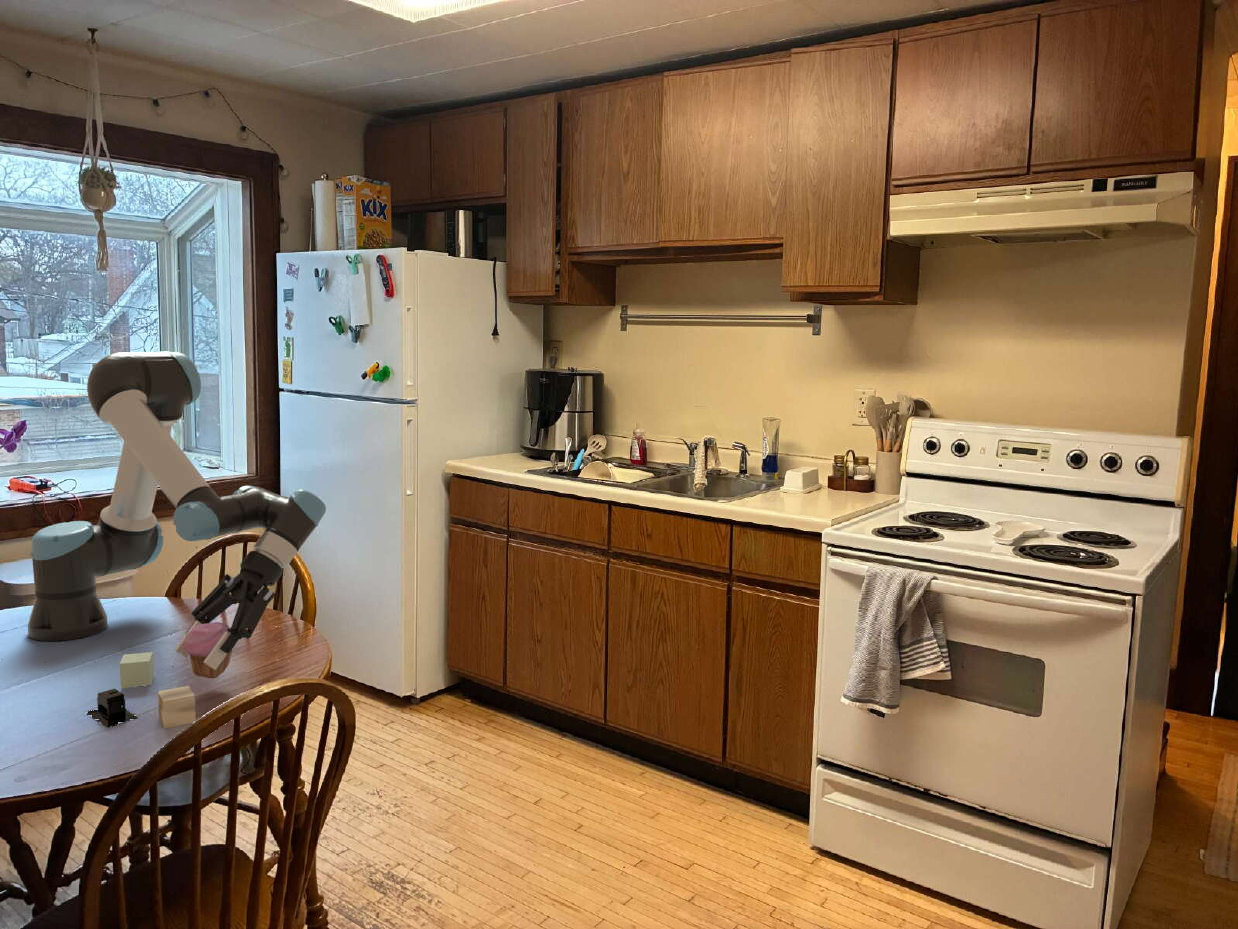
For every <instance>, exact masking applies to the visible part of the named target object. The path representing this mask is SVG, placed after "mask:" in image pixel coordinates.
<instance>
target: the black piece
mask: <svg viewBox="0 0 1238 929" xmlns="http://www.w3.org/2000/svg"><path fill="white" fill-rule="evenodd" d="M96 703H97V709H98V710H94V709H92V711H91V710H88V713H87V715H86V716H88V715H92V718H91V719H93V720H94V719H99V720H95V721H96V722H98V723H99V722H101V723H102V724H101V723H100V724H101V725H103V727H106V728H111V727H110V726H112V727H116V726H118V725H117V724H118V722H125V723H128V722H130V719H134V720H137V719H140V716H138V715H137V716H138V717H139V718H138V717H137V716H134V715H136V714H135V713H133V712H132V713H133V714H132V713H130V712H131V711H130V710H128V709H127V708H126V699H125V694H124V693H123V692H121V691H119V690H118V689H116V688H111V689H108V690H104V691H100V692H98V693H97V699H96ZM126 709H127V710H128V711H127V710H126ZM93 710H94V711H93ZM129 711H130V712H129Z"/></svg>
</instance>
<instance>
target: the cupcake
mask: <svg viewBox="0 0 1238 929" xmlns="http://www.w3.org/2000/svg"><path fill="white" fill-rule="evenodd" d="M229 628H231V627H230V626H229V625H227V624H225V623H223V622H218V621H217V622H210V623H207V624H201V625H198V626H195V627H194V628H193V629H192V630H191V631H190V632H189V633H188V634H187V636H186V637H185V639H184V648H185V650H186V652H188V653H189V659H190V662H191V668H192V672H193V674H194V675H195V676H196V677H202V678H207V679H216V678H218V677H220V675H222V674H223V673H225V671H226V669H227V668H228V667H229V664H230V663H231V662H230V661H231V658H232V653H233V649H234V648H235V646H236V644H237V643H236V644H235V646H234V647H233V648H232V650H231V651H230V652H229V653H228V654H227V655H226V656H225V658H224V659H223V660H222V662H221V663H220V665H219V666H218V667H217V669H216V670H214V669H212V668H211V667H209V666H208V665H207V664H205V663H204V660H205V659H206V658H207V656H208V655H209V653H210V652H211V651H212V649H213V648H214V647H215V645H216V644H217V642H218V641H219V640H220V638H221V637H222V636H223V634H224V633H225V632H228V631H227V629H229ZM228 633H229V634H231V633H230V632H228Z"/></svg>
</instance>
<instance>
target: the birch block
mask: <svg viewBox="0 0 1238 929" xmlns="http://www.w3.org/2000/svg"><path fill="white" fill-rule="evenodd" d="M195 698H196V697H195V693H194V692H193V690H192V689H191V687H190V685H186V686H181V687H176V688H175V687H174V688H170V689H169V688H168V689H165V690H164V689H163V690H159V691H157V700H158V701H157V702H158V703H157V707H158V719H159V721H160V723H161V725H162V727H163V729H165V730H166V729H169V728H175V727H180V726H183V724H185V725H189V724H193V723H192V722H194V721H195V720H196V701H195V700H196V699H195Z"/></svg>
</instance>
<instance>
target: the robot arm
mask: <svg viewBox="0 0 1238 929" xmlns="http://www.w3.org/2000/svg"><path fill="white" fill-rule="evenodd" d="M200 376H201V375H200V373H199V371H198V368H197V365H196V364H195V363H194V361H193V360H192V359H191V358H190V357H188V356H187V355H186V354H184V353H182V352H178V351H177V352H176V351H167V350H163V351H162V350H161V351H153V352H152V351H148V352H147V351H146V352H143V351H141V352H126V351H125V352H124V351H123V352H121V351H120V352H115V353H111V354H109V355H107V356H104V357H102V358H101V359H99V361H97V363H95V365H94V366H93V367H92V369H91V370H90V372H89V375H88V378H87V384H86V391H87V398H88V400H89V403H90V405H91V408H92V409H93V411H94V413H95V414H96V415H97V417H98V418H99V419H100V421H101V422H102V423H104V424H105V425H108V426H112V427H113V429H114V430H115V431H116V432H117V434H118V435H119V437H121V439H122V440H123V446H122V450H121V453H120V459H119V463H118V467H117V468H118V469H117V473H116V476H115V482H114V484H113V485H114V486H113V490H112V494H111V495H112V496H111V500H110V502H109V503H110V504H109V505H107V506H106V507H104V508H103V509H101V511H100V515H99V519H98V523H97V524H94V525H93V523H91V522H90V521H85V520H74V521H69V522H58V523H55V524H52V525H48V526H45V527H44V528H41V529H39V530H38V531H37V532H36V533H35V534H34V535H33V536H32V539H31V552H30V556H31V558H32V570H33V571H32V572H33V583H34V584H33V586H34V598H35V599H34V604H33V607H32V609H31V613H30V617H29V621H28V623H27V634H28V637H29V638H30V639H32V640H36V641H44V642H54V641H55V642H58V640H61V641H68V640H75V639H81V637H82V638H86V637H89V636H90V637H91V636H93V635H96V634H97V633H101V632H102V631H104V630H106V628H108V626H109V624H108V616H107V612H106V611H105V608H104V605H103V604H102V601H101V600H100V597H99V595H98V593H97V578H99V577H100V578H101V577H104V576H108V575H112V574H113V575H114V574H117V573H121V572H126V571H130V570H137V569H140V568H142V567H145V566H147V565H150V564H152V563H153V562H155V561H156V559H158V557H159V555H161V552H162V549H163V547H164V535H162V534H163V528H162V526H161V524H160V523H159V522H158V521H157V520H158V519H157V517H156V515H155V514H154V513H153V512H152V511H153V506H154V504H155V498H156V495H157V490H158V487H159V488H160V489H161V491H162V493H163V494H164V495H165V496H166V497H167V499H168V500H169V501H170V503H171V504H172V505H173V507H174V508H175V510H174V514H173V521H172V522H173V525H174V526H175V531H176V533H177V534H178V536H179V537H180V538H181V539H182V540H184V541H187V542H199V541H208V540H211V539H214V538H218V537H221V536H226V535H230V534H234V533H240V532H244V531H248V530H254V529H257V528H258V529H260V528H261V529H263V530H264V531H263V533H262V534H261V535H260V537H259V538H258V539H257V541H256V542H255V543H254V545H253V546H252V550H250V551H249V552H248V553H247V554H246V555H245V557H244V558H243V560H241V562H240V565H239V567H240V568H241V569H240V572H239V573H238V574H237V575H236V576H235V577H234V576H231V575H229V574H228V573H226V574H224V575H223V577H222V578H221V580H220V581H219V583H218V584H217V585H216V586H215V587H214V588H213V589H212V591H210V592H209V594H208V595H207V596H205V598H203V599H202V601H201V602H200V603H199V604H198V605H197V606H196V607H195V608H194V609H193V610H192V612H191V615H192V616H193V618H194V621H193V622H192V624H191V626H190V627H189V628H188V630H186V632H185V635H184V636H183V637H182V639H181V640H180V641H179V642H178V644H177V645H176V647H175V648H174V649H173V650H174V651H175V652H176V653H178V654H179V655H181V656H182V657H183V658H188V656H190V654H189V653H188V652H186V650H185V648H184V639H185V637H186V636H187V634H188V633H189V632H190V631H191V630H192V629H193V628H194V627H195V626H198V625H201V624H207V623H212V622H213V621H214V620H215V619H216V618H217V617H218V616H220V615H221V614H222V613H223V612H225V611H226V610H227V609H228V608H229V607H231V606H232V605H237V604H238V607H237V608H236V612H235V614H234V617H233V621H232V624H231V627H230V628H229V629H227V631H228V632H230V633H231V634H229V633H228V632H225V633H224V634H223V636H222V637H221V638H220V640H219V641H218V642H217V644H216V645H215V647H214V648H213V649H212V651H211V652H210V653H209V655H208V656H207V658H206V659H205V660H204V663H205V664H207V665H208V666H209V667H211V668H212V669H214V670H216V669H217V667H218V666H219V665H220V663H221V662H222V660H223V659H224V658H225V656H226V655H227V654H228V653H229V652H230V651H231V650H232V651H233V649H234V648H235V647H234V646H236V645H235V644H237V643H238V642H239V640H242V639H243V638H245V639H248V640H249V639H250V638H251V637H252V635H253V633H254V631H255V630H256V628H257V626H258V624H259V622H260V620H261V618H262V616H263V614H264V612H265V610H266V609H267V607H268V605H269V603H270V602H271V601H272V600H273V599H274V598H275V595H276V593H275V592H274V591H272V590H271V589H270V588H269V587H274V585H276V583H277V582H278V580H279V579H280V577H282V574H283V572H284V570H283V569H286V568H287V567H288V566H289V565H290V563H291V562H292V560H293V559H294V557H295V556H296V555H297V553H298V552H299V551H300V549H301V548H302V546H303V545H304V544H305V542H306V541H307V539H308V538H309V537H310V535H311V534H312V533H313V532H314V530H315V529H316V527H318V526H319V524H320V522H321V520H322V518H323V517H324V515H325V514H326V511H327V506H326V504H325V503H324V502H323V500H322V499H320V498H319V497H318V496H317V495H315V494H314V493H312V492H311V491H308V490H306V489H303V488H300V489H299V488H298V489H296V490H295V491H294V492H293V493H292V494H290V496H289V497H287V496H283V495H280V494H279V493H278V494H277V493H275V492H272V491H270V490H267V489H265V488H263V487H262V488H261V487H260V486H253V485H244V486H241V487H239V489H237V490H235V491H234V492H233V493H232V495H226V496H225V495H223V496H218V494H217V493H216V491H214V489H213V488H212V487H211V486H210V485H209V484H208V482H207V481H206V479H205V478H204V477H203V475H201V473H200V472H199V470H198V469H197V468H196V467H195V465H194V464H193V462H191V460H190V458H189V457H188V456H187V455H186V454H185V453H184V451H183V449H181V447H180V446H179V444H177V442H176V440H174V438H173V437H172V436H171V432H172V427H173V424H174V423H175V422H178V421H179V420H181V419H182V417H183V413H184V408H185V406H187V405H188V406H189V405H192V404H193V403H194V402H196V401H197V400H198V399H199V397H200V395H201V390H202V383H201V382H202V381H201V377H200ZM95 633H96V634H95ZM92 634H93V635H92ZM233 647H234V648H233ZM232 648H233V649H232Z"/></svg>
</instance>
